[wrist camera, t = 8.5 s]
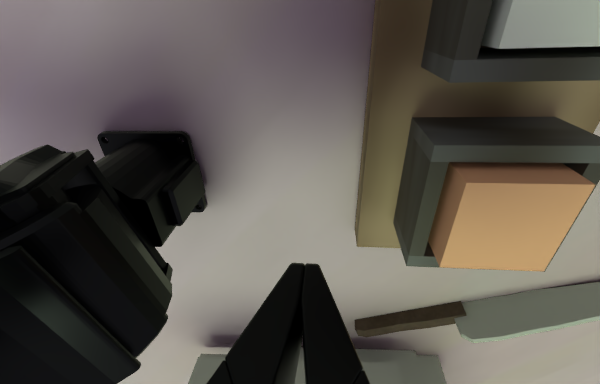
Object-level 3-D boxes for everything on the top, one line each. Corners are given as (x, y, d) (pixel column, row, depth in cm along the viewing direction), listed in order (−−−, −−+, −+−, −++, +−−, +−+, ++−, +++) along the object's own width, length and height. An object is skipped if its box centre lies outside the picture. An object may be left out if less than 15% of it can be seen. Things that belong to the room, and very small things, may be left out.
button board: (354, 229, 23) (362, 290, 18) (393, -206, 11) (447, -388, 6) (513, 234, 22) (570, 300, 17) (738, -242, 10) (1146, -496, 5)
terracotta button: (418, 219, 18) (439, 267, 15) (436, 145, 15) (466, 182, 12) (502, 221, 18) (543, 271, 14) (535, 146, 15) (595, 184, 12)
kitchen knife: (360, 357, 27) (824, 305, 18) (356, 351, 26) (832, 295, 17) (357, 317, 30) (744, 256, 21) (354, 310, 30) (749, 246, 21)
